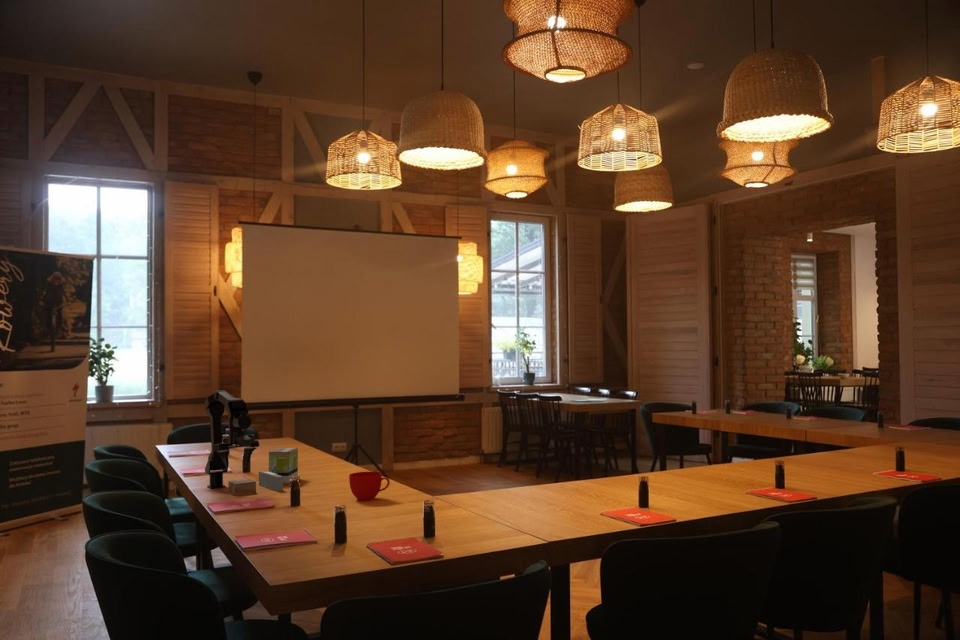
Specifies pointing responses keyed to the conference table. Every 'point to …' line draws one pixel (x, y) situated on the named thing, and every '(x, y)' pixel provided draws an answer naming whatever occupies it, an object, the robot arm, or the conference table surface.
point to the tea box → (284, 462)
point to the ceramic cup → (366, 485)
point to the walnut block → (242, 486)
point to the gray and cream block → (271, 480)
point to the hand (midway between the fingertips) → (237, 466)
